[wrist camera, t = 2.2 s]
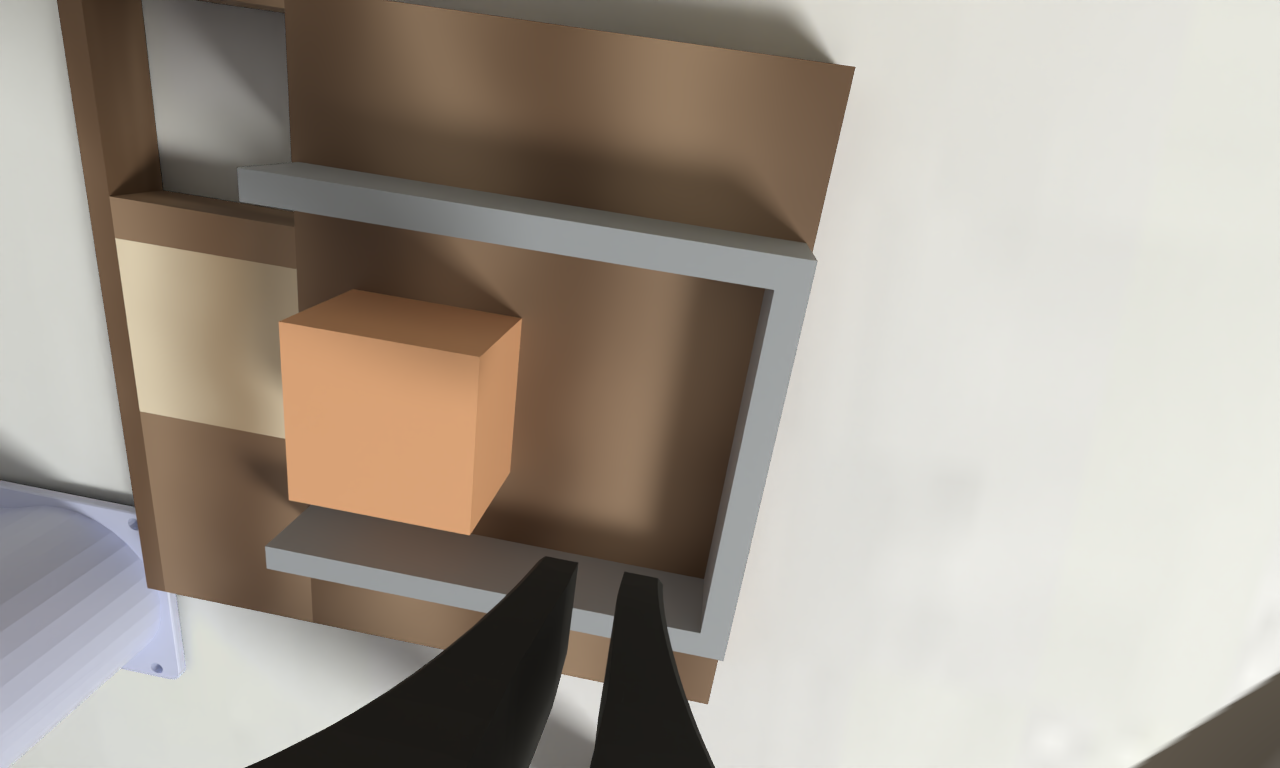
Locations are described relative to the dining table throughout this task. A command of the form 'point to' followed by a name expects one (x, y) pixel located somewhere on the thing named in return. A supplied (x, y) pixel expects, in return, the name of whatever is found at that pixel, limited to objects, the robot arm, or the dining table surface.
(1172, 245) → the dining table surface
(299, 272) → the board
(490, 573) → the gray rectangular frame
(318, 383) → the block
